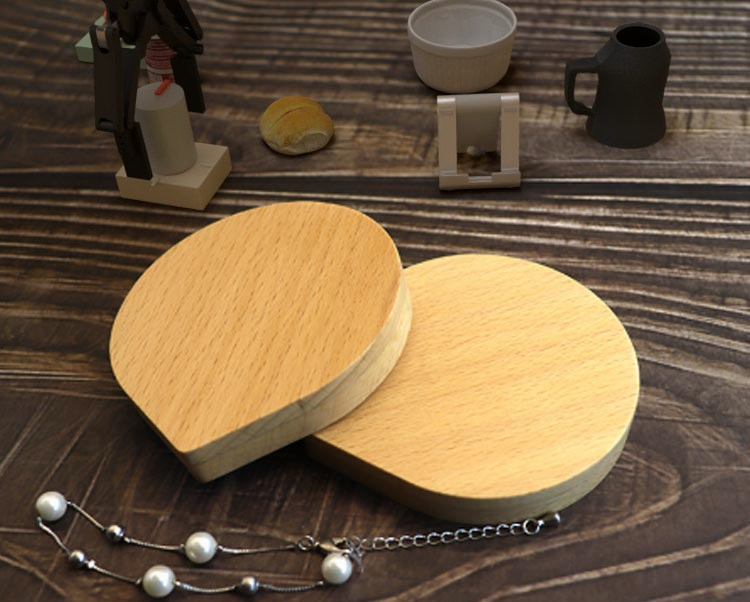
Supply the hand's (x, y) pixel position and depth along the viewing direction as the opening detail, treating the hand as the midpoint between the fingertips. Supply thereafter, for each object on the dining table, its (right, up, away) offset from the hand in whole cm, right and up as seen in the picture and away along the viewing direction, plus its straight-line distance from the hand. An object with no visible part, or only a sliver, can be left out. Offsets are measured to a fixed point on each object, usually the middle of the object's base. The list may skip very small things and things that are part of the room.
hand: (167, 142), depth 110 cm
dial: (0, -2, +2) cm, 2 cm away
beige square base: (0, -4, +4) cm, 5 cm away
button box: (-11, +18, +26) cm, 33 cm away
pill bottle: (-3, +12, +19) cm, 23 cm away
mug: (+50, +3, +7) cm, 50 cm away
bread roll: (+14, +3, +9) cm, 17 cm away
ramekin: (+33, +13, +17) cm, 39 cm away
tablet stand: (+34, -3, +2) cm, 34 cm away
